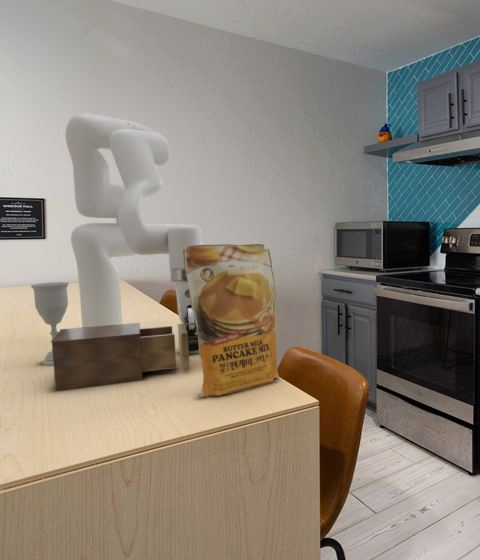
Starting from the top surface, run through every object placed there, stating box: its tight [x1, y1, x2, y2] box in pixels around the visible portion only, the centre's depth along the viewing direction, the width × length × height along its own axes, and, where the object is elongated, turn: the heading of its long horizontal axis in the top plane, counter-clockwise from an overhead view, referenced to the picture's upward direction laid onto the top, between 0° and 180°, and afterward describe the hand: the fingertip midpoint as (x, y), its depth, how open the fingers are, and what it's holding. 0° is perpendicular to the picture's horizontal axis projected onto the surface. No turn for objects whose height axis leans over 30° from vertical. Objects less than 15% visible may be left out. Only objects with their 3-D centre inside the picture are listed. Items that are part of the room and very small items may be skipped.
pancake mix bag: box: [183, 243, 280, 398], centre depth 98 cm, size 7×19×28 cm, turn 138°
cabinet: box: [51, 322, 143, 391], centre depth 105 cm, size 15×13×10 cm
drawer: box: [140, 323, 199, 373], centre depth 111 cm, size 18×11×8 cm, turn 119°
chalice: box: [30, 281, 70, 366], centre depth 116 cm, size 7×7×18 cm
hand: (190, 347), depth 126 cm, fingers closed on can, 5 cm apart
